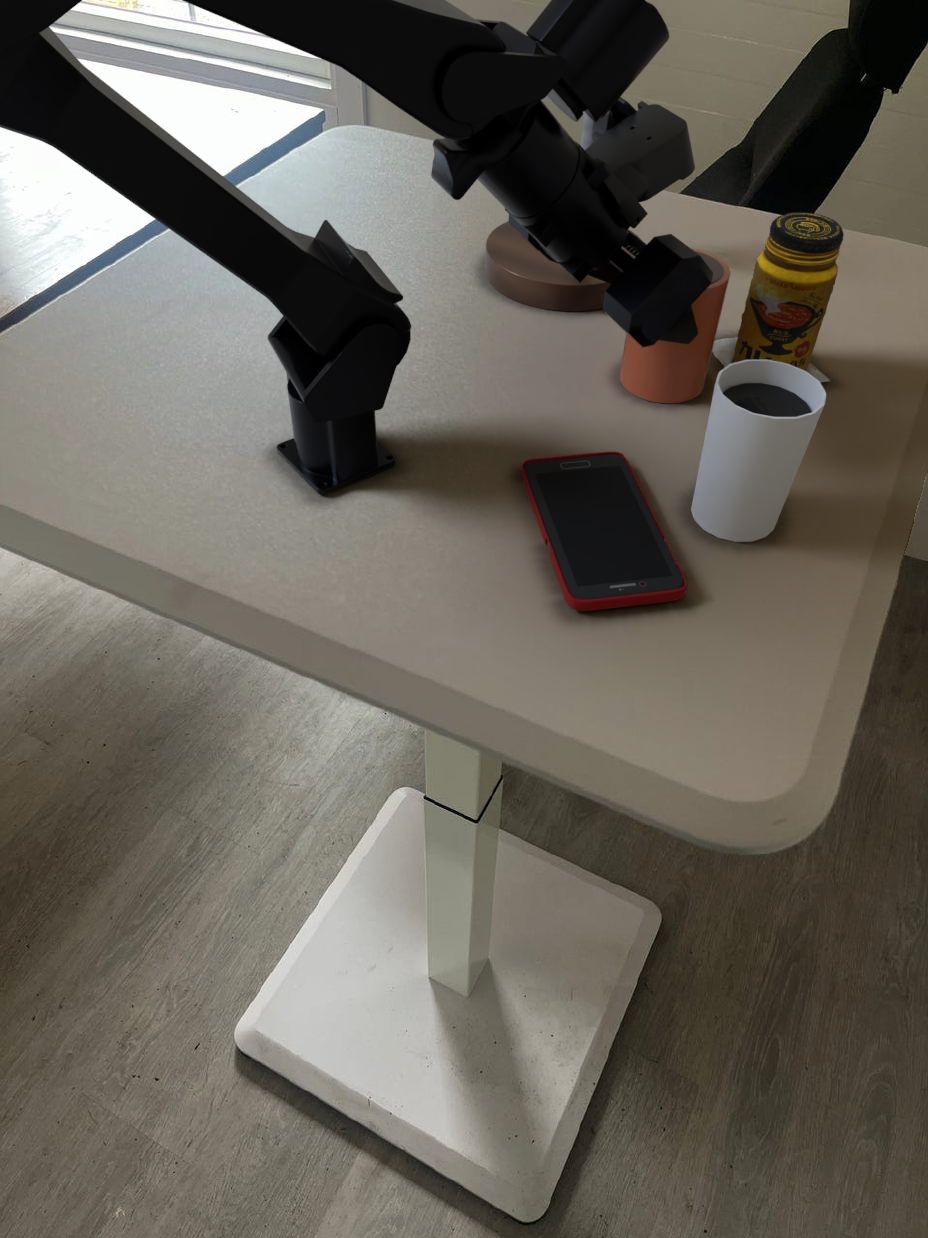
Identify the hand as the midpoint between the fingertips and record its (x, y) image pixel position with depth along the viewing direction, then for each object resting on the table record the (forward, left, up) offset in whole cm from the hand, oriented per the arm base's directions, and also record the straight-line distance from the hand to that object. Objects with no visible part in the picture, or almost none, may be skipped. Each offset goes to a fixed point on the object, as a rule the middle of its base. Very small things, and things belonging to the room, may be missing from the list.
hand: (658, 308), depth 71 cm
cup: (0, -2, -7) cm, 7 cm away
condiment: (-3, -11, -7) cm, 13 cm away
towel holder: (+18, -7, -7) cm, 21 cm away
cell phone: (-11, +15, -7) cm, 20 cm away
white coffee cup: (-15, +6, -7) cm, 18 cm away
